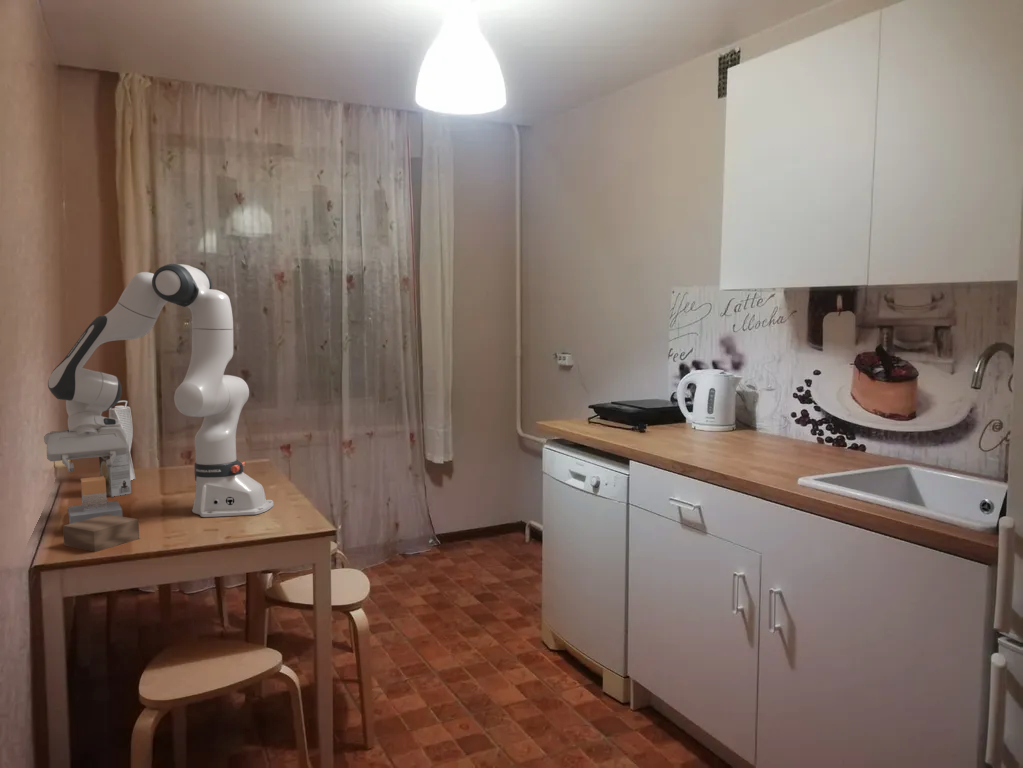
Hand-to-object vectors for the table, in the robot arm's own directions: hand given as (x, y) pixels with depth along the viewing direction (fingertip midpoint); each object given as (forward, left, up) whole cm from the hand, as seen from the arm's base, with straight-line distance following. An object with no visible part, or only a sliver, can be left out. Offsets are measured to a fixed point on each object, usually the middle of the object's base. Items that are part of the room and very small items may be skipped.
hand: (90, 468), depth 209 cm
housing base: (-4, +6, -10) cm, 12 cm away
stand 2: (-14, +20, -15) cm, 29 cm away
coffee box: (+12, -32, -15) cm, 37 cm away
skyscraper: (+20, -50, -15) cm, 56 cm away
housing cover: (-4, +6, -5) cm, 9 cm away
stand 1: (-4, +6, -15) cm, 16 cm away
